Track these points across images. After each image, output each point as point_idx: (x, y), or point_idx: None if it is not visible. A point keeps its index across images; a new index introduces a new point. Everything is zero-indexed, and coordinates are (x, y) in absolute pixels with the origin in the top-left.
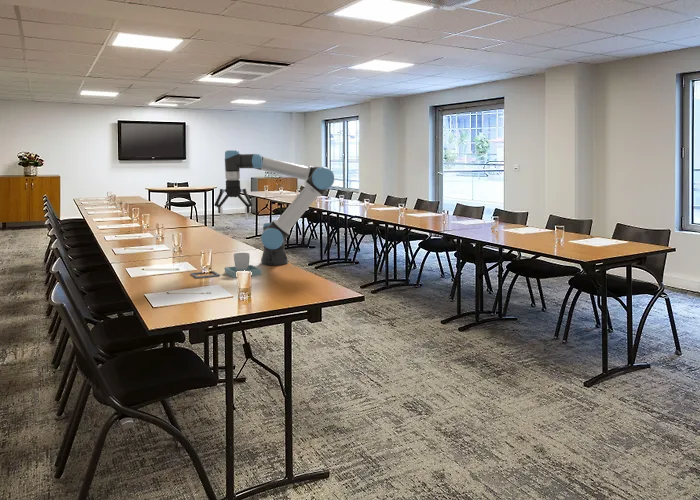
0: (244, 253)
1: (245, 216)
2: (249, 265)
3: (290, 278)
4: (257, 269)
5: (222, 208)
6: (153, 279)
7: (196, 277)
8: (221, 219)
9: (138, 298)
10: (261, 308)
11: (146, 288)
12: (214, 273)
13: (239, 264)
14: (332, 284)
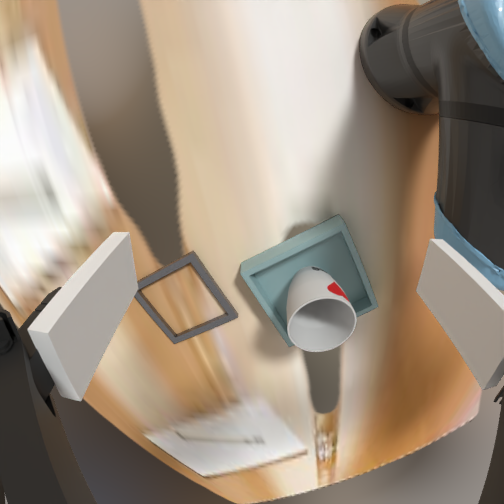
0: (333, 297)
1: (431, 309)
2: (337, 232)
3: (437, 332)
4: (367, 311)
5: (60, 317)
6: None
7: (174, 342)
8: (135, 289)
9: (153, 450)
10: (346, 474)
11: (118, 407)
12: (208, 285)
13: (308, 325)
14: None
